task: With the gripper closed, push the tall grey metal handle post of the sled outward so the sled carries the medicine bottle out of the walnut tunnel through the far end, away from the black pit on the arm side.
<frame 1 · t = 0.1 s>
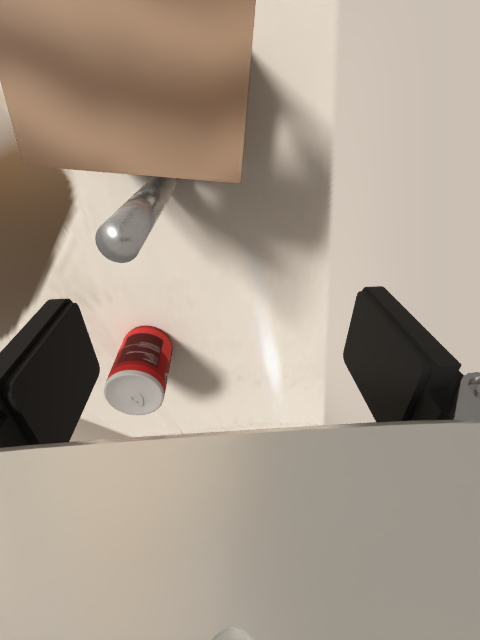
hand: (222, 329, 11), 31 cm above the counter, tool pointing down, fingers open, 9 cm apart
walnut tunnel: (164, 94, 32), on the counter
sled: (144, 117, 23), point 12 cm above the counter, slide at 0.0 cm
canned food: (149, 343, 49), on the counter
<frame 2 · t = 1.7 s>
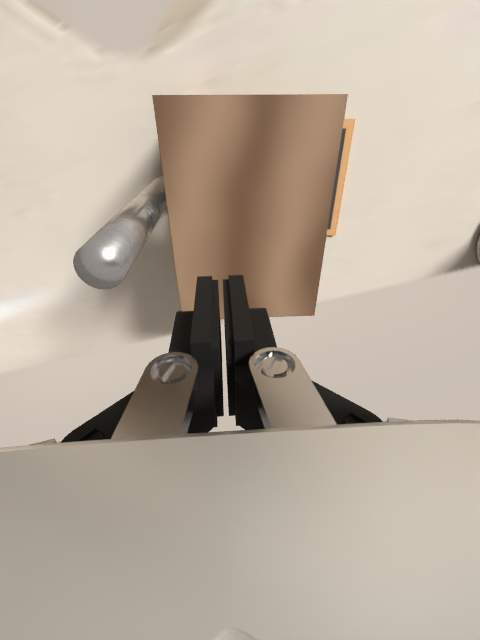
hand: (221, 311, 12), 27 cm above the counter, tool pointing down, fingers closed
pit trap: (317, 182, 35), on the counter
walnut tunnel: (237, 183, 34), on the counter
sled: (219, 211, 24), point 12 cm above the counter, slide at 0.0 cm
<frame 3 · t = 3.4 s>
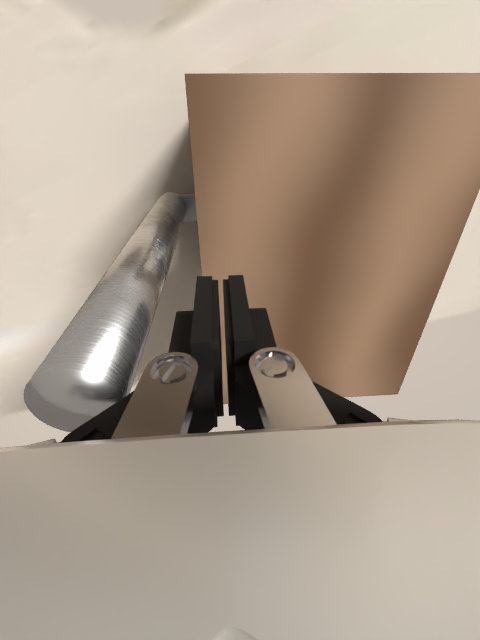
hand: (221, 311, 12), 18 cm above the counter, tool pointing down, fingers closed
walnut tunnel: (269, 200, 27), on the counter
sled: (258, 249, 17), point 12 cm above the counter, slide at 0.4 cm, touching gripper
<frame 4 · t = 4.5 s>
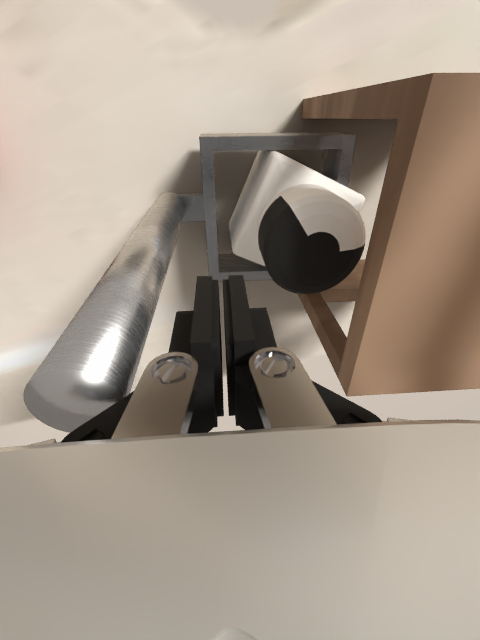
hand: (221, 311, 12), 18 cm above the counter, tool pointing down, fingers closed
walnut tunnel: (352, 197, 27), on the counter
sled: (257, 249, 17), point 12 cm above the counter, slide at 8.0 cm, touching gripper, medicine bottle
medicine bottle: (278, 203, 27), on the counter, touching sled
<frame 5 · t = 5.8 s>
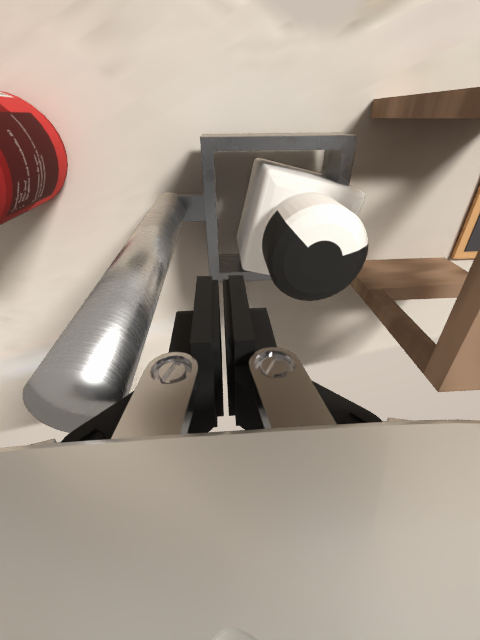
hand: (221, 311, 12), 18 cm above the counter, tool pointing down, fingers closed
walnut tunnel: (412, 196, 28), on the counter
sled: (257, 249, 17), point 12 cm above the counter, slide at 13.4 cm, touching gripper
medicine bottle: (282, 208, 28), on the counter
canned food: (18, 151, 24), on the counter
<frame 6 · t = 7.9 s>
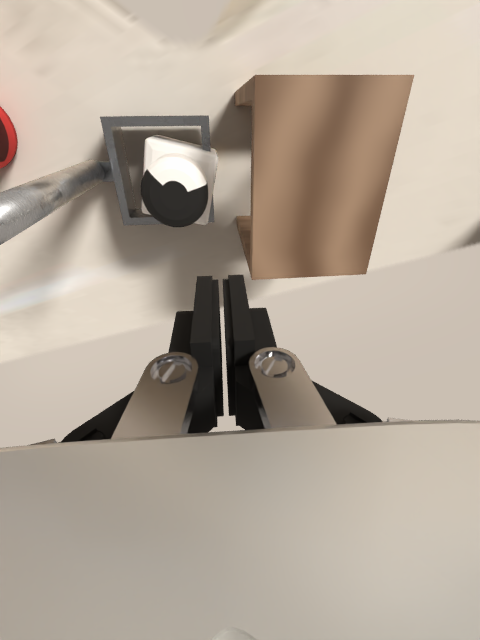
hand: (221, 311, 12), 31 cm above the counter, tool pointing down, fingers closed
walnut tunnel: (279, 165, 37), on the counter
sled: (130, 187, 26), point 12 cm above the counter, slide at 13.4 cm
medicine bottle: (183, 174, 37), on the counter
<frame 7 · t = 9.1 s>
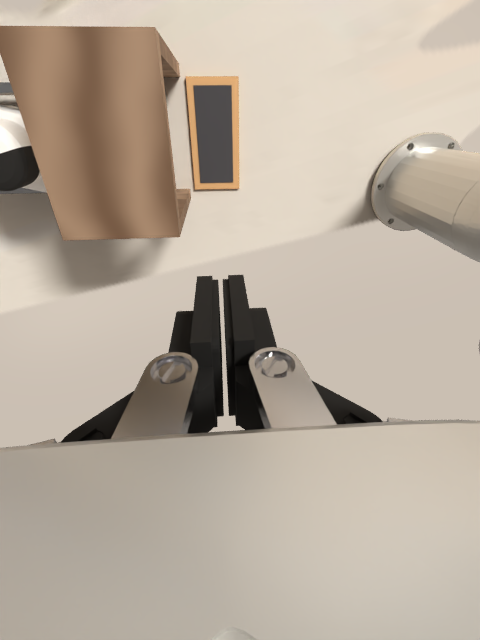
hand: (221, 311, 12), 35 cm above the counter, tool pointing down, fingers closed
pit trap: (214, 137, 38), on the counter
walnut tunnel: (142, 138, 38), on the counter
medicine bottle: (48, 147, 38), on the counter
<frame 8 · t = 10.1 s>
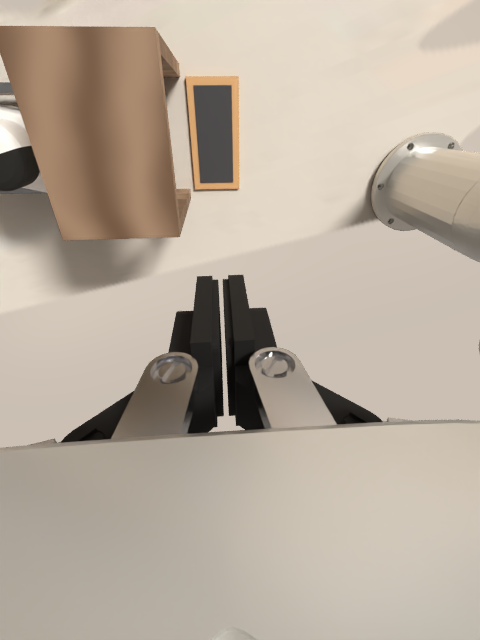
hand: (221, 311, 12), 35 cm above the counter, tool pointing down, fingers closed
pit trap: (214, 137, 38), on the counter
walnut tunnel: (142, 138, 38), on the counter
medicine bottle: (48, 147, 38), on the counter
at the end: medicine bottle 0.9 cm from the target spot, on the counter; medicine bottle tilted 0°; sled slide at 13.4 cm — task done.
